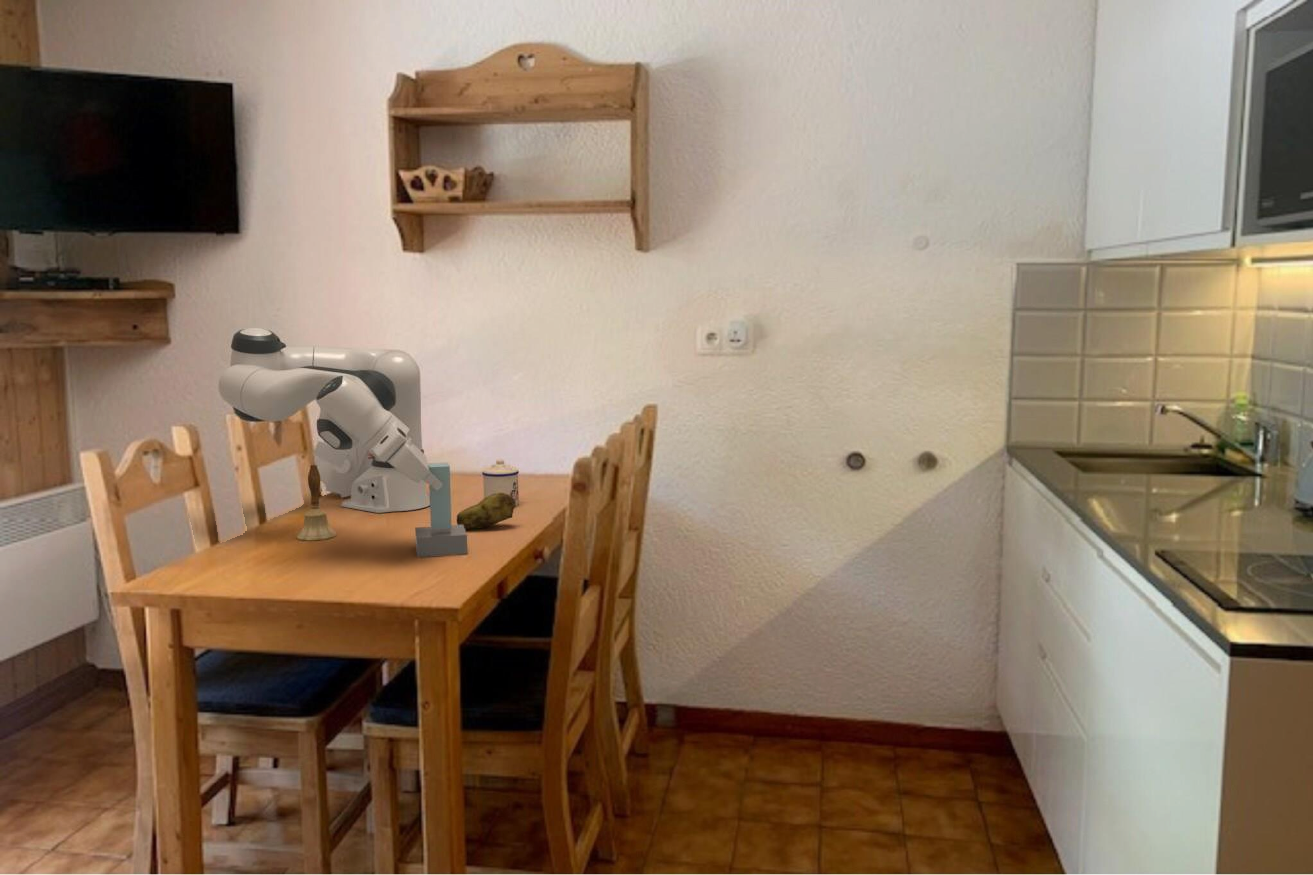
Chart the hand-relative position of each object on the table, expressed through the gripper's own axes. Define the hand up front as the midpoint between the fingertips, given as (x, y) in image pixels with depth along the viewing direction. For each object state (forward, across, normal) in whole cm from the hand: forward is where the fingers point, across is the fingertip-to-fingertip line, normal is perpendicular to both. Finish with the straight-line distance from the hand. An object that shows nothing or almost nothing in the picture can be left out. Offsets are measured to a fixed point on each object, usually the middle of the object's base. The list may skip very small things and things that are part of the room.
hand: (439, 484), depth 215 cm
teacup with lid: (+22, -44, +2) cm, 49 cm away
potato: (+18, -18, -2) cm, 25 cm away
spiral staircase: (-3, -73, -23) cm, 77 cm away
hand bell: (-8, -20, -28) cm, 36 cm away
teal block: (+6, 0, -6) cm, 9 cm away
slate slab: (+10, 0, -10) cm, 14 cm away
